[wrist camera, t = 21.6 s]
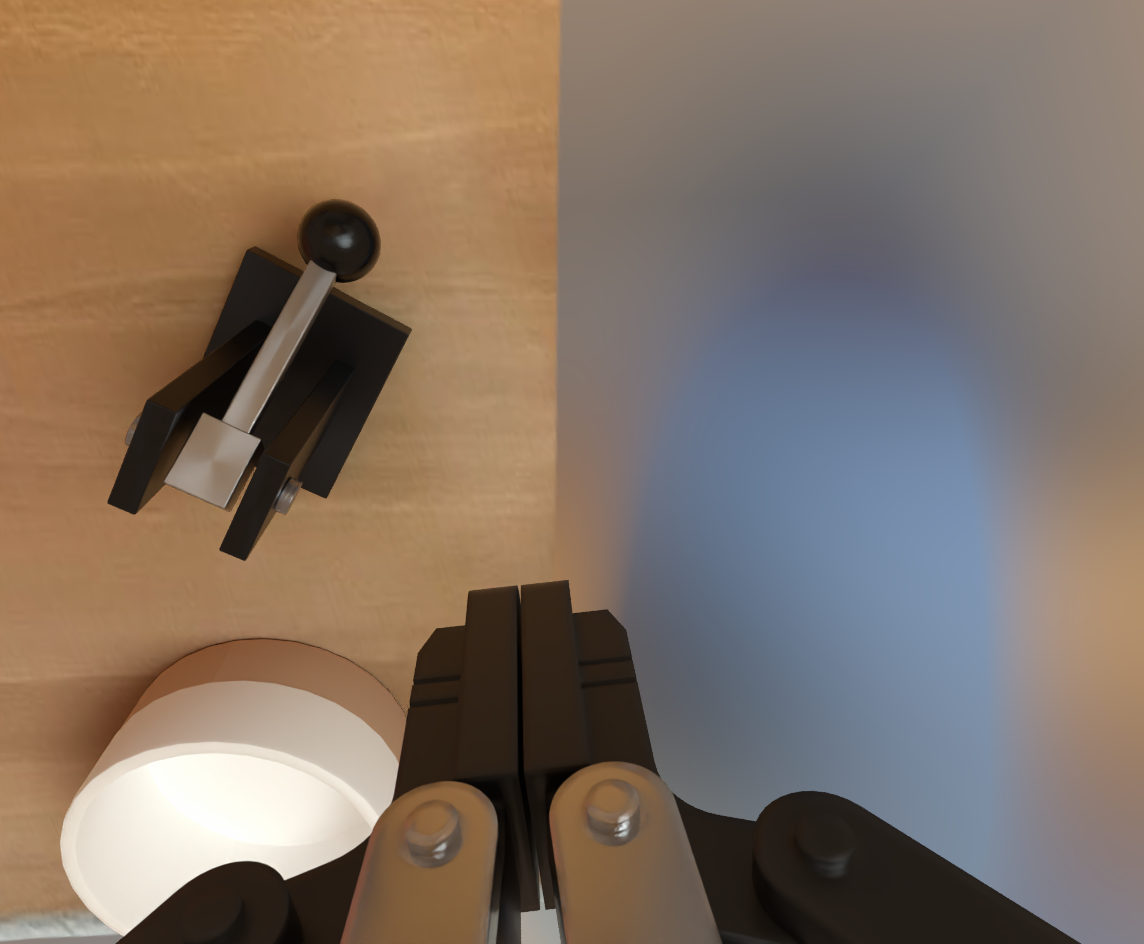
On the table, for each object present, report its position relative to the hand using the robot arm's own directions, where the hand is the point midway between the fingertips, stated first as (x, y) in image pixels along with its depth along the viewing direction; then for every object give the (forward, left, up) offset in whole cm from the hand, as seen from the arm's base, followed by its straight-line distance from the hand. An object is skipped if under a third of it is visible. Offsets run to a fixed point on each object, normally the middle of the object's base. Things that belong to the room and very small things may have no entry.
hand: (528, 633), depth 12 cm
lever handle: (+10, +1, -21) cm, 23 cm away
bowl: (+18, +28, -28) cm, 43 cm away
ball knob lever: (+12, +4, -28) cm, 31 cm away
